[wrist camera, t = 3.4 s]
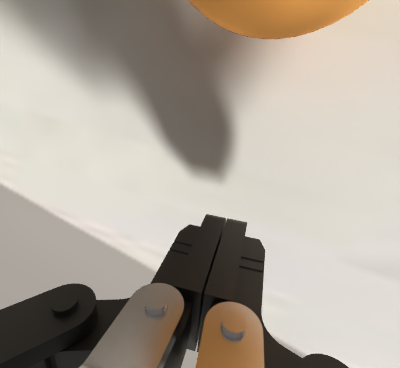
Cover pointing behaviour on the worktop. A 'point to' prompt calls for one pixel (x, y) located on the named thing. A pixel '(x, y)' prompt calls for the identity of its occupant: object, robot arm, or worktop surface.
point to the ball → (275, 15)
